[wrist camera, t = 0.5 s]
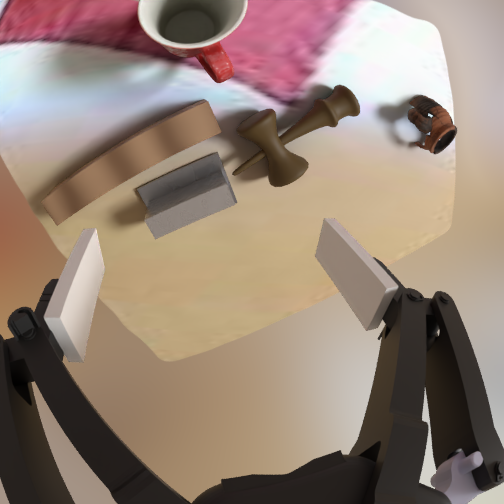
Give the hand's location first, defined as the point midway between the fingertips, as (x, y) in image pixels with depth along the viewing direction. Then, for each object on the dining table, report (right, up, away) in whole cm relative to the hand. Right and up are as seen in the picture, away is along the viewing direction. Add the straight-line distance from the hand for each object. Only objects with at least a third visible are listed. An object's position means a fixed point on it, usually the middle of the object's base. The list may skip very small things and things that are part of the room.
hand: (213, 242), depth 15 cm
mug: (-5, +25, +11) cm, 28 cm away
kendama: (+7, +17, +21) cm, 28 cm away
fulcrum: (-7, +8, +23) cm, 25 cm away
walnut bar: (-14, +13, +18) cm, 26 cm away
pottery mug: (+32, +23, +24) cm, 46 cm away
